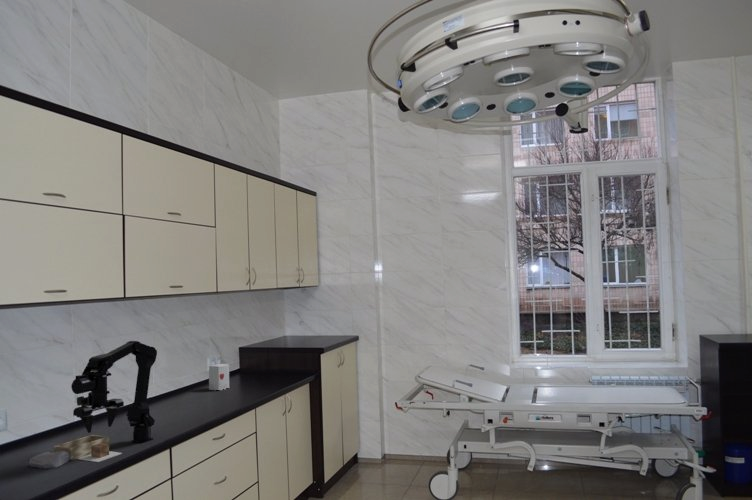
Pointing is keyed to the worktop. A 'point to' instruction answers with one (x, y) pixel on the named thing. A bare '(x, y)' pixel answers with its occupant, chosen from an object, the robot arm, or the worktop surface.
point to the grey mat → (96, 459)
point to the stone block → (49, 459)
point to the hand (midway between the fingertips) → (99, 429)
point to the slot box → (81, 446)
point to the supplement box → (218, 376)
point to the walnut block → (99, 450)
